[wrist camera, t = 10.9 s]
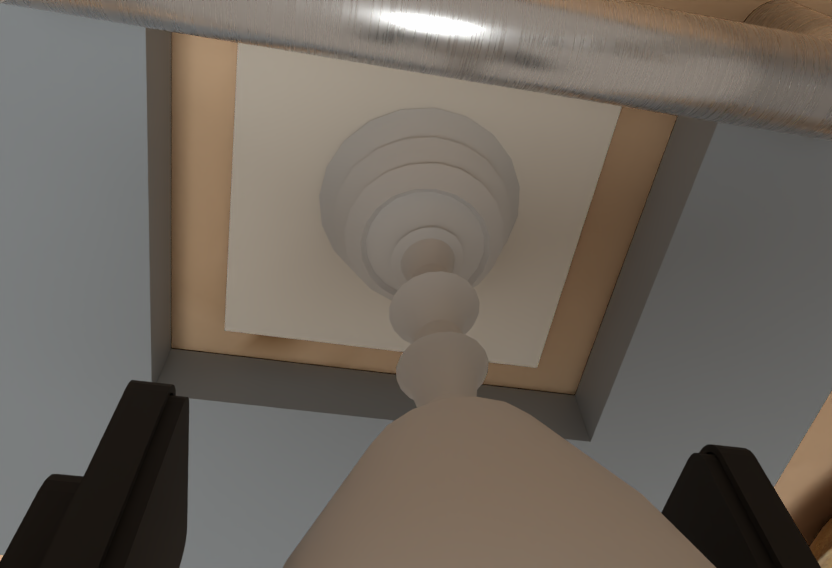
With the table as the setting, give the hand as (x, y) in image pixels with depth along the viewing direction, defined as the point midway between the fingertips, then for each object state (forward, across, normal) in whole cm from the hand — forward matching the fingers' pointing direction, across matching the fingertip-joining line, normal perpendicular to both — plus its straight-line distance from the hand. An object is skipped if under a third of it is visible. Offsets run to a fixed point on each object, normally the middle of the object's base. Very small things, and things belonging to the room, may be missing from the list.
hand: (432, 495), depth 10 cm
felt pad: (+10, 0, 0) cm, 10 cm away
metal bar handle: (+10, 0, -6) cm, 11 cm away
